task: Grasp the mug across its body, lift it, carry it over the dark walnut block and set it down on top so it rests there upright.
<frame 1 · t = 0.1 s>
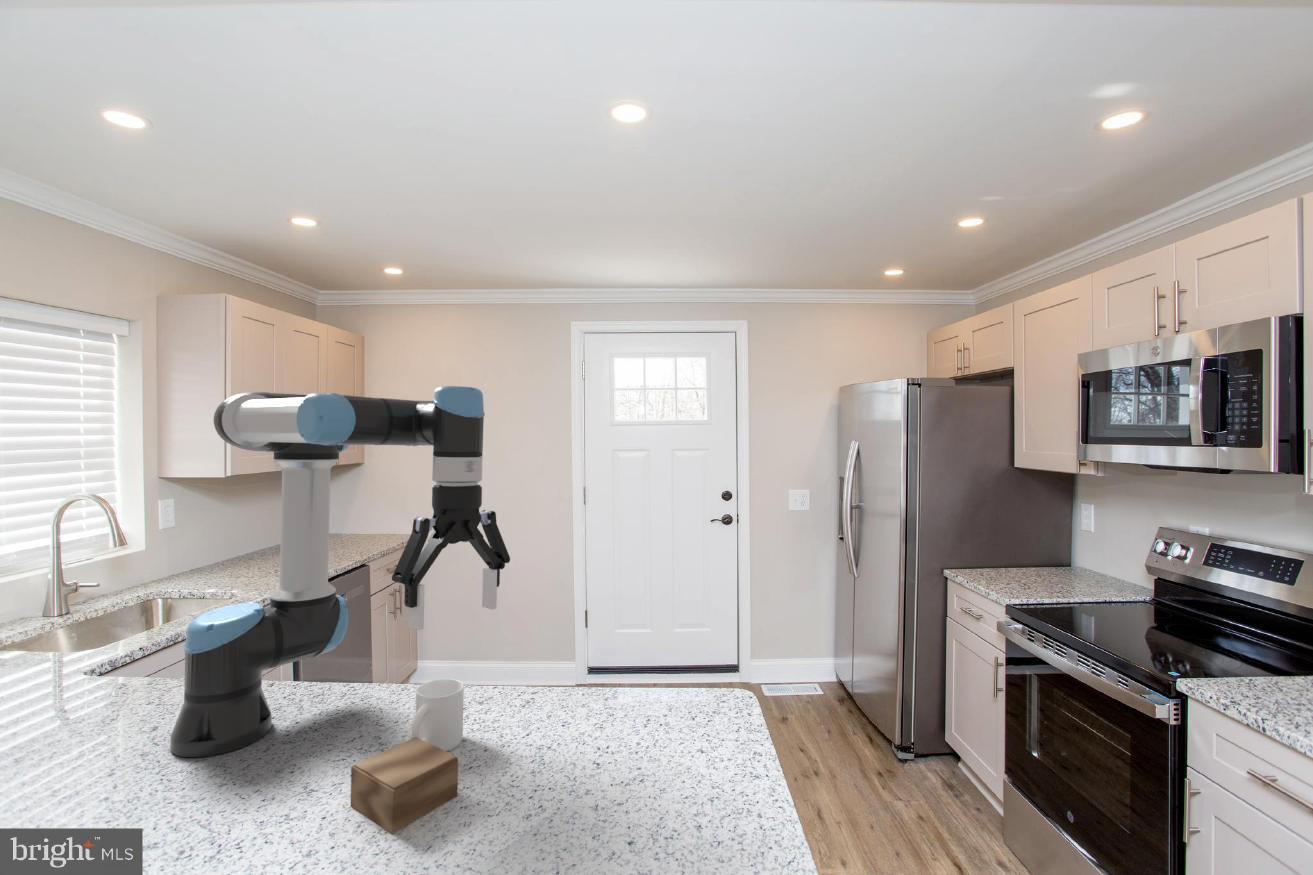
hand: (454, 617, 93), 28 cm above the countertop, fingers open, 13 cm apart
walnut block: (404, 801, 91), on the countertop
mug: (432, 749, 106), on the countertop
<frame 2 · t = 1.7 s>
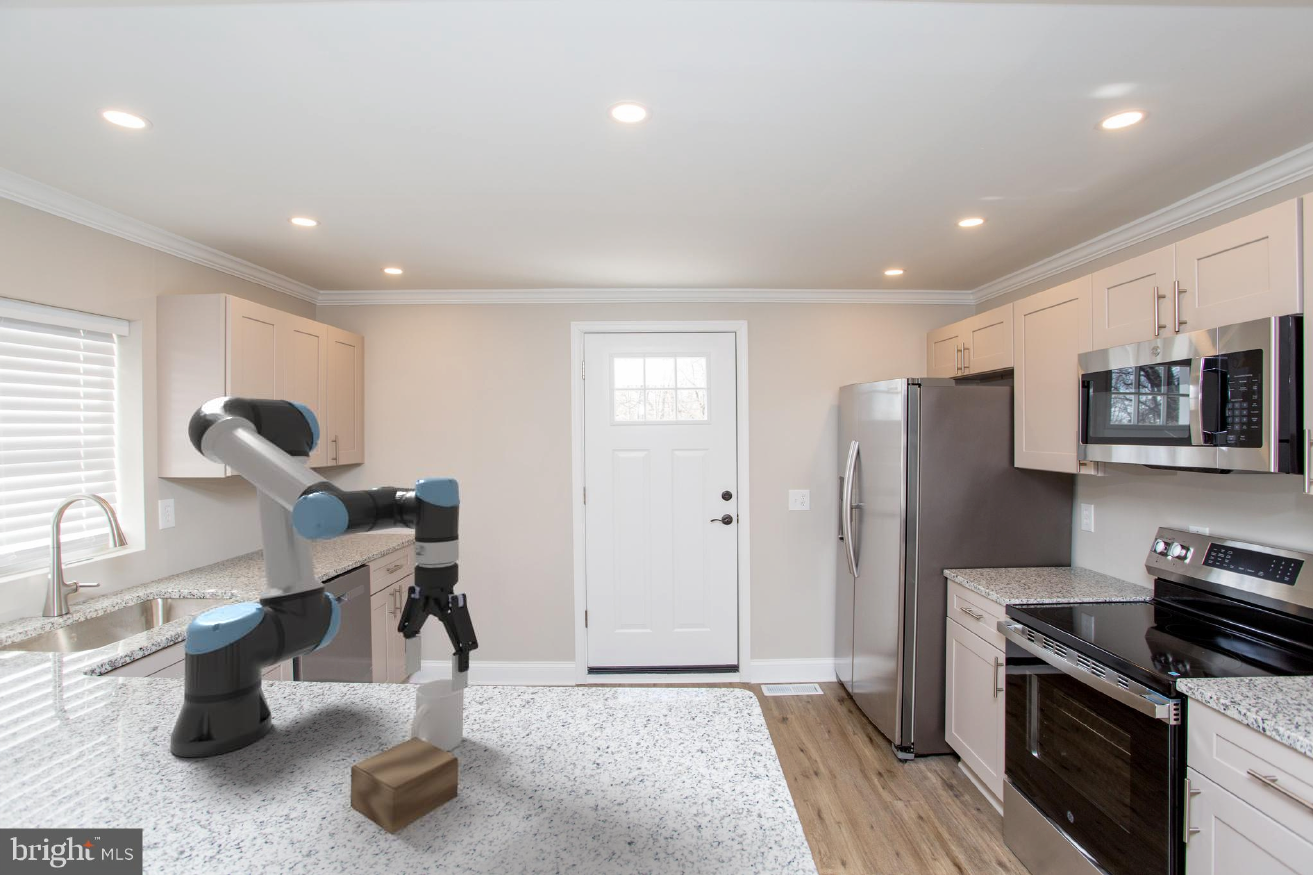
hand: (435, 680, 106), 12 cm above the countertop, fingers open, 13 cm apart
nothing on the countertop moved.
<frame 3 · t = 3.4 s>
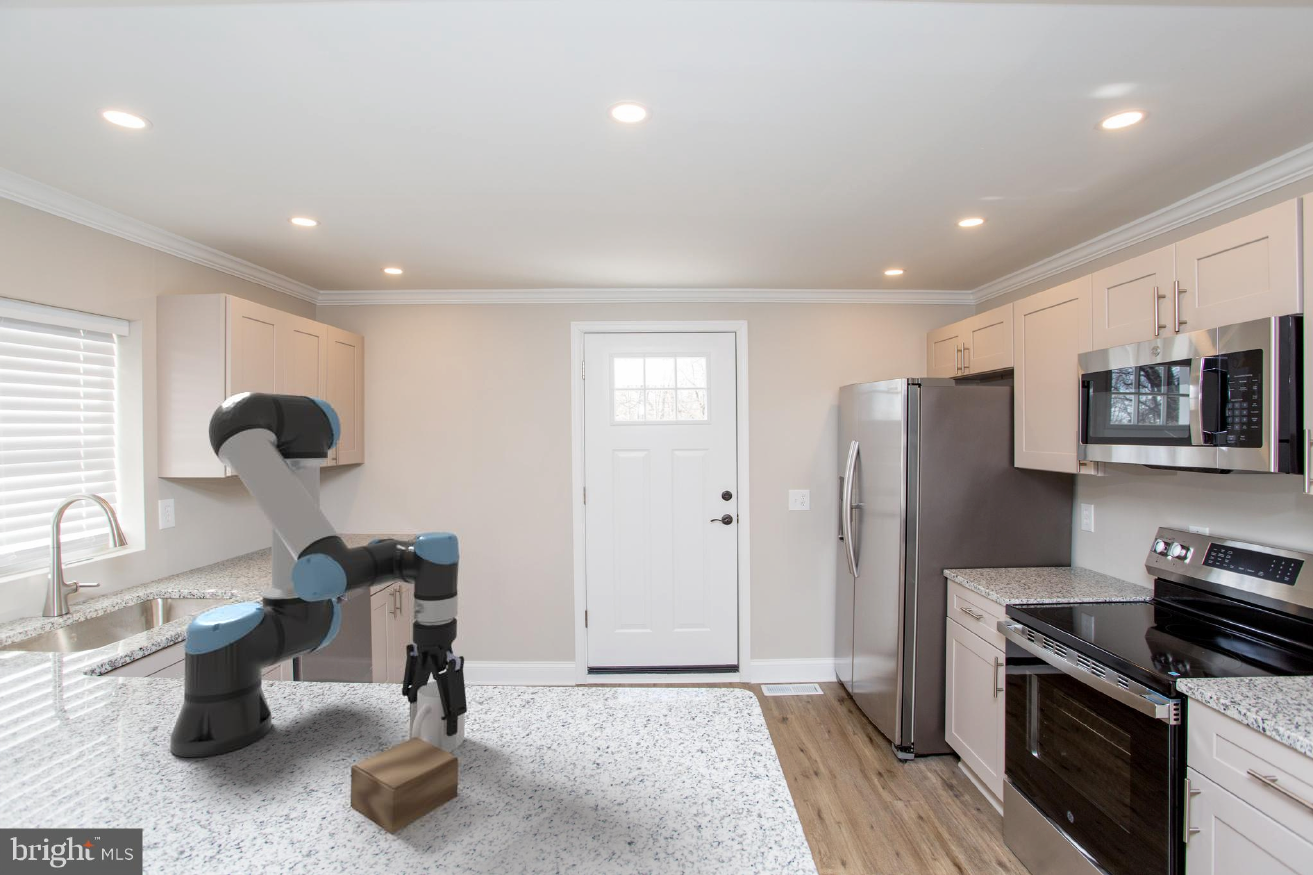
hand: (432, 743, 106), 1 cm above the countertop, fingers closed on mug, 8 cm apart
mug: (434, 750, 106), on the countertop, touching gripper
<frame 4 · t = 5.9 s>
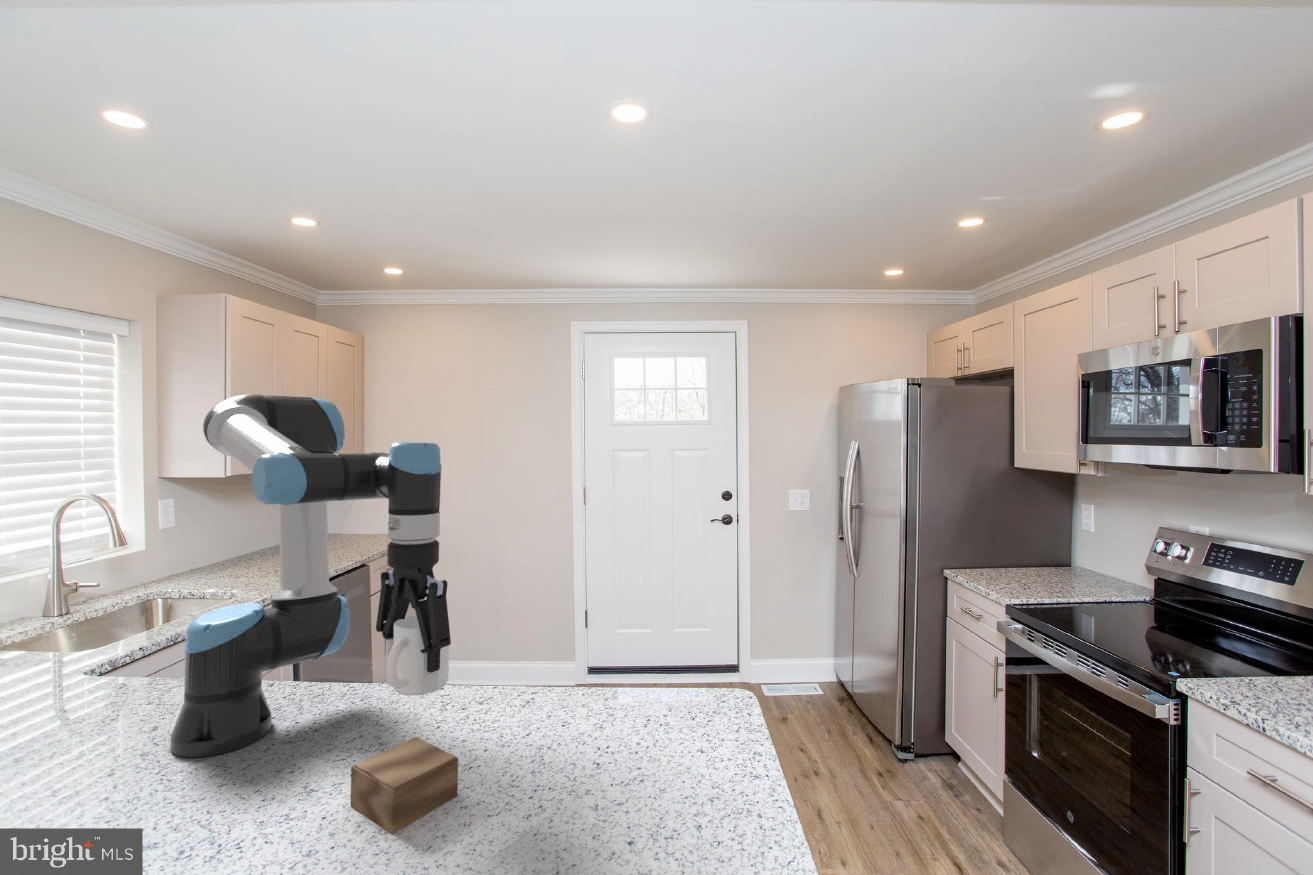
hand: (411, 684, 92), 18 cm above the countertop, fingers closed on mug, 8 cm apart
mug: (413, 691, 92), point 17 cm above the countertop, touching gripper
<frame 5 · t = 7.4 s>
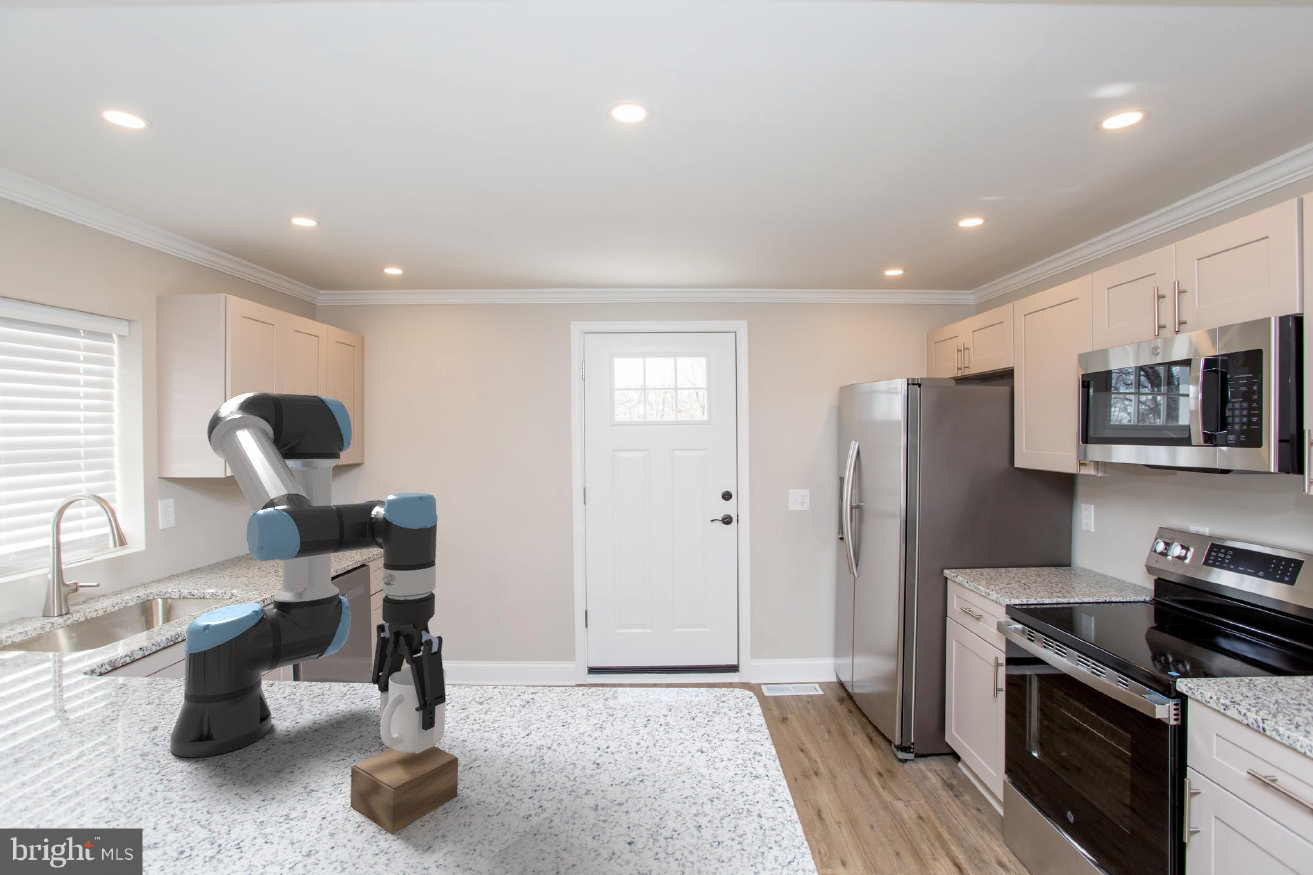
hand: (406, 740, 91), 9 cm above the countertop, fingers closed on mug, 8 cm apart
mug: (408, 747, 90), point 8 cm above the countertop, touching gripper
when the fingers open (8 cm above the countertop, at t = 8.5 s): mug drops 1 cm, resting on walnut block.
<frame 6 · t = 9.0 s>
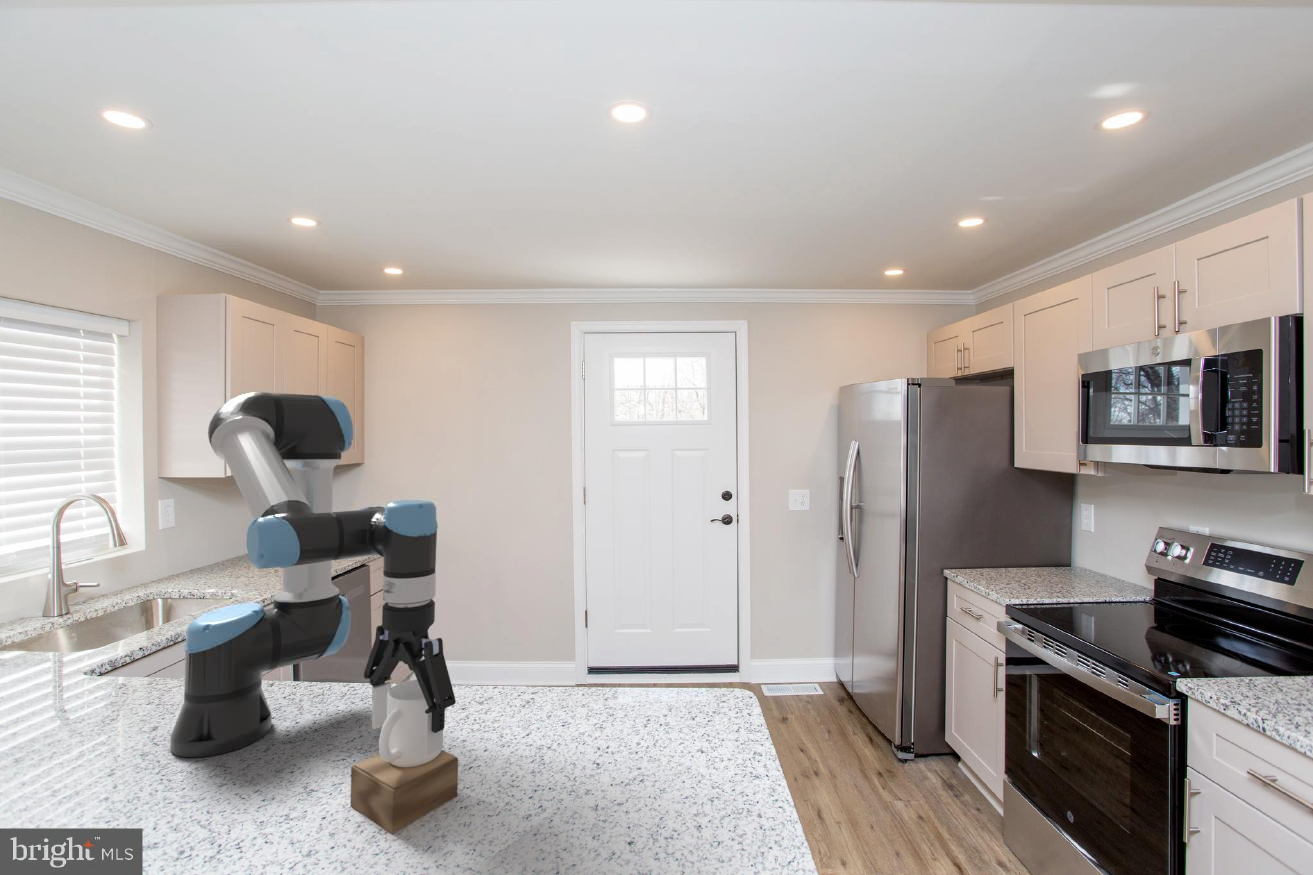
hand: (406, 738, 91), 10 cm above the countertop, fingers open, 13 cm apart
mug: (406, 762, 91), point 6 cm above the countertop, touching walnut block
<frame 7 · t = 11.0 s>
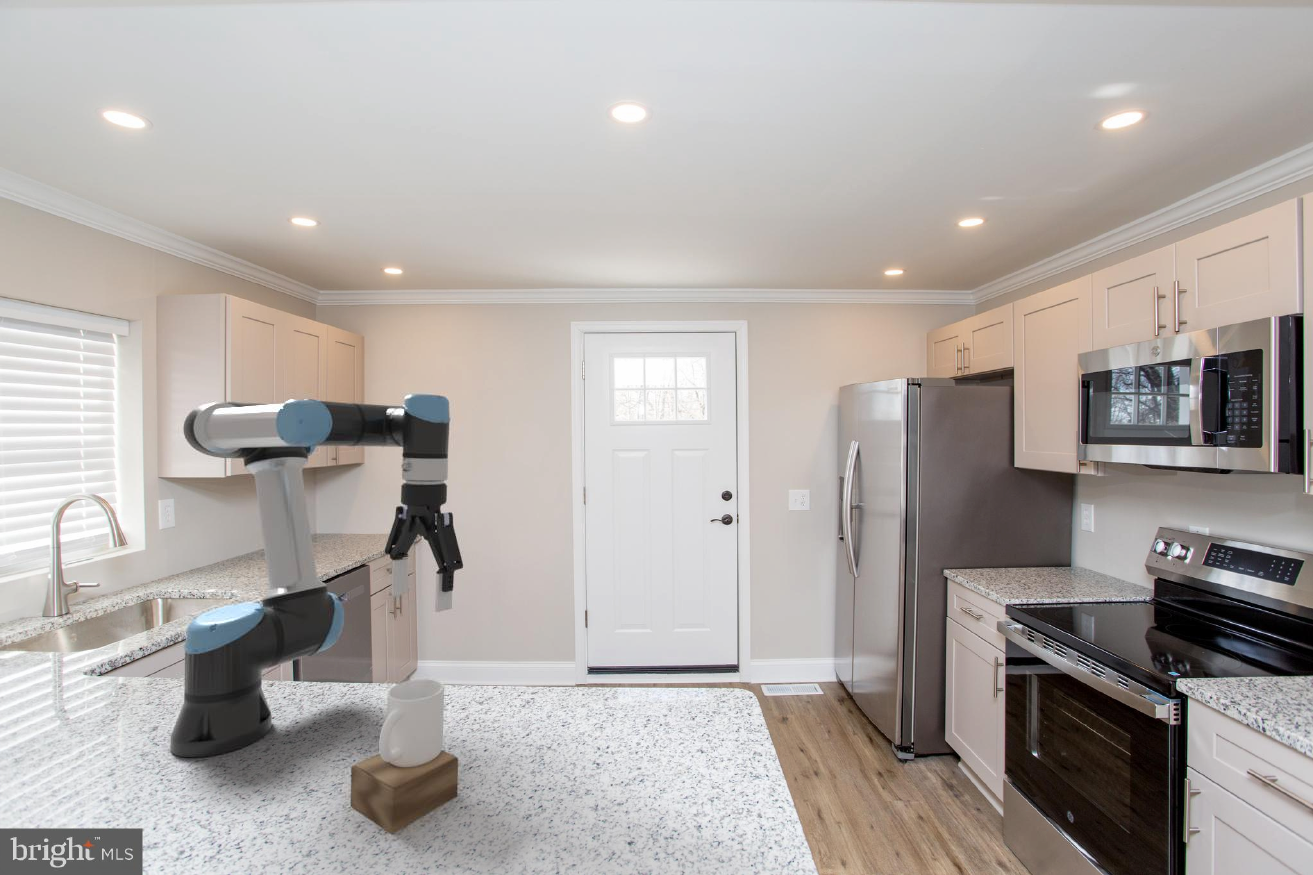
hand: (420, 602, 103), 27 cm above the countertop, fingers open, 13 cm apart
nothing on the countertop moved.
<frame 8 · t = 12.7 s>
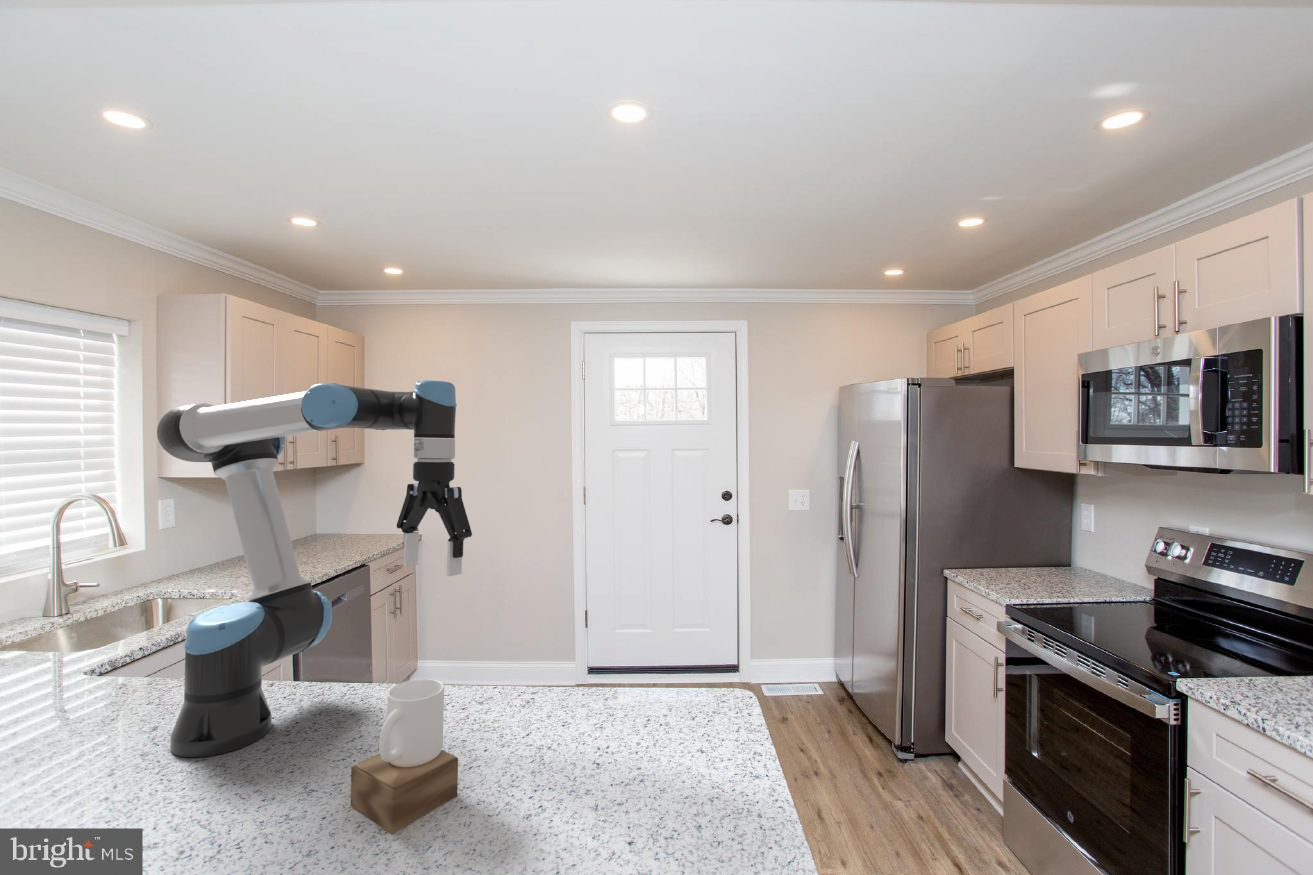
hand: (431, 570, 114), 31 cm above the countertop, fingers open, 13 cm apart
nothing on the countertop moved.
at the end: mug inside the target area on the walnut block (0.3 cm from its centre), point 6.1 cm above the walnut block's base; mug tilted 0°; the gripper is holding nothing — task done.
